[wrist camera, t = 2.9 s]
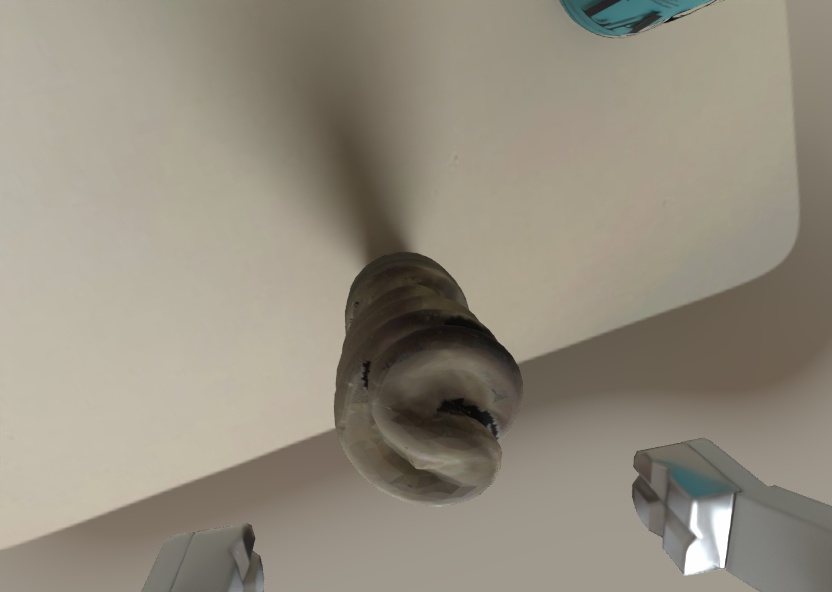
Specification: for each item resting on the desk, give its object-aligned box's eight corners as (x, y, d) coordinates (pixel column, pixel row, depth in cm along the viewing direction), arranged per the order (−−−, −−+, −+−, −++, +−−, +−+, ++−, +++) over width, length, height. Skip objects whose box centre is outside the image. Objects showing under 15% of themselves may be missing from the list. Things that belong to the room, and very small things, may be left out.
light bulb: (427, 336, 27) (510, 545, 13) (333, 320, 26) (312, 527, 12) (452, 243, 26) (576, 364, 12) (353, 221, 25) (357, 325, 11)
